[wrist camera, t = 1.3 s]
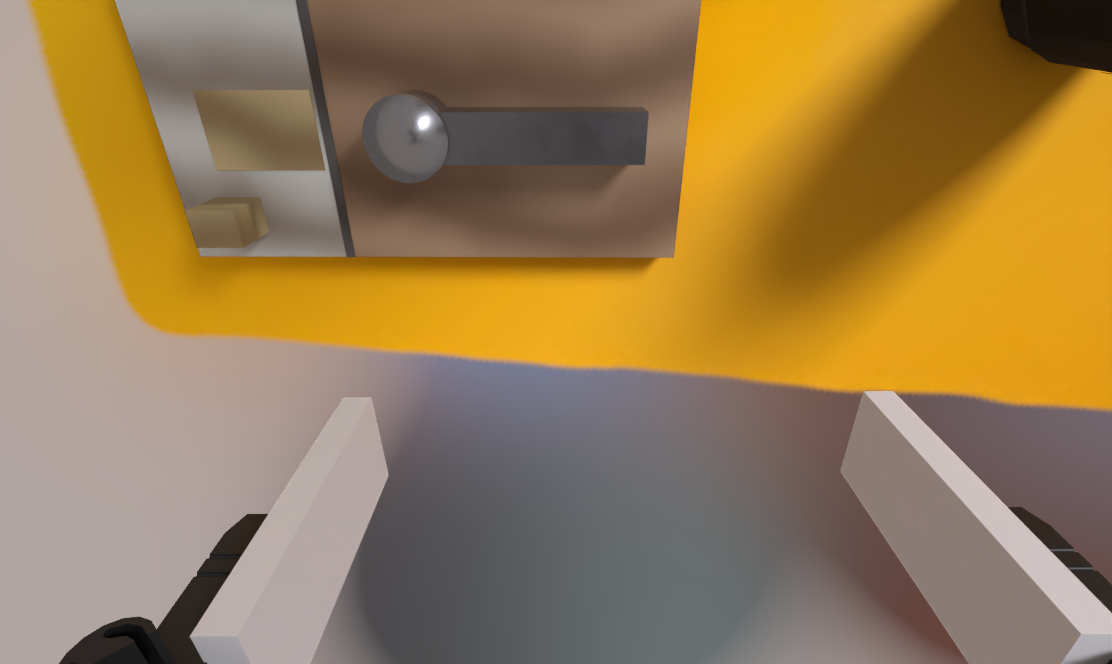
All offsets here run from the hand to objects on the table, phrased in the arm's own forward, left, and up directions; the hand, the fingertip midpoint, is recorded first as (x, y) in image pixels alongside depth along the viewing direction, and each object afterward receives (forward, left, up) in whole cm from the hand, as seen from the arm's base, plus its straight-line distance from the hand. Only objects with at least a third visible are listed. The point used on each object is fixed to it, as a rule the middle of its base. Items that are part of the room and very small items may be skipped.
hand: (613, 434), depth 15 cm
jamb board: (-9, -9, -20) cm, 24 cm away
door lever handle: (-6, -4, -18) cm, 19 cm away
